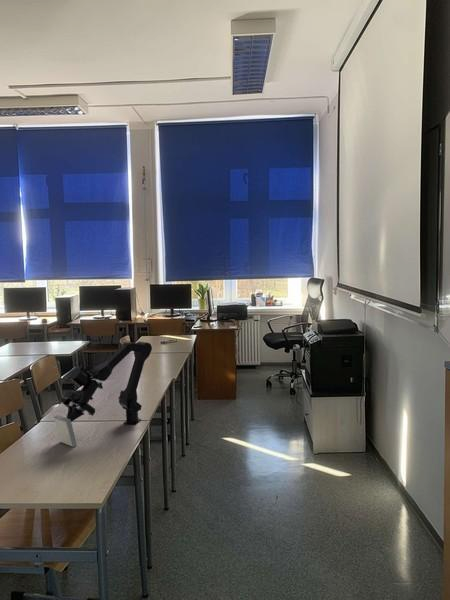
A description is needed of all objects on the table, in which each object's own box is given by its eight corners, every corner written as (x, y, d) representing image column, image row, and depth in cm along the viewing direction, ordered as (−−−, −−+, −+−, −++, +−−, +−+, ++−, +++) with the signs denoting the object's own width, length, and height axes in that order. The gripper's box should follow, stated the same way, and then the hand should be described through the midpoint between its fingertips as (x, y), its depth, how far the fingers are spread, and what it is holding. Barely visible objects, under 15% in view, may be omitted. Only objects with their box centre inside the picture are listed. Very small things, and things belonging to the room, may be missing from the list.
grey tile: (63, 439, 196) (57, 414, 193) (76, 445, 190) (70, 419, 187) (59, 442, 194) (53, 417, 192) (72, 447, 188) (66, 421, 185)
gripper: (63, 379, 200) (41, 410, 192) (87, 385, 188) (65, 418, 180) (79, 392, 206) (59, 422, 199) (104, 399, 195) (83, 431, 187)
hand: (66, 423), depth 191 cm, fingers closed
